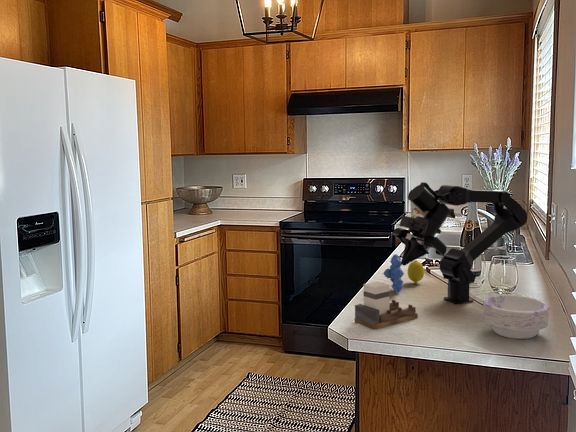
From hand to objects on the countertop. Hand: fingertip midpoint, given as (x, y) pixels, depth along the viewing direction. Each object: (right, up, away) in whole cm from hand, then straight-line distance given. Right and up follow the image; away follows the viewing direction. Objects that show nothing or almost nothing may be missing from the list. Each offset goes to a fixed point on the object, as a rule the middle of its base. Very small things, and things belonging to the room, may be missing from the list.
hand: (402, 264), depth 162 cm
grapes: (+2, -11, +22) cm, 25 cm away
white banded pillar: (-9, -13, -10) cm, 19 cm away
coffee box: (+41, +7, +157) cm, 162 cm away
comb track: (-7, -15, -8) cm, 18 cm away
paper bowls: (+24, -16, -21) cm, 35 cm away
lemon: (+11, -9, +32) cm, 35 cm away
